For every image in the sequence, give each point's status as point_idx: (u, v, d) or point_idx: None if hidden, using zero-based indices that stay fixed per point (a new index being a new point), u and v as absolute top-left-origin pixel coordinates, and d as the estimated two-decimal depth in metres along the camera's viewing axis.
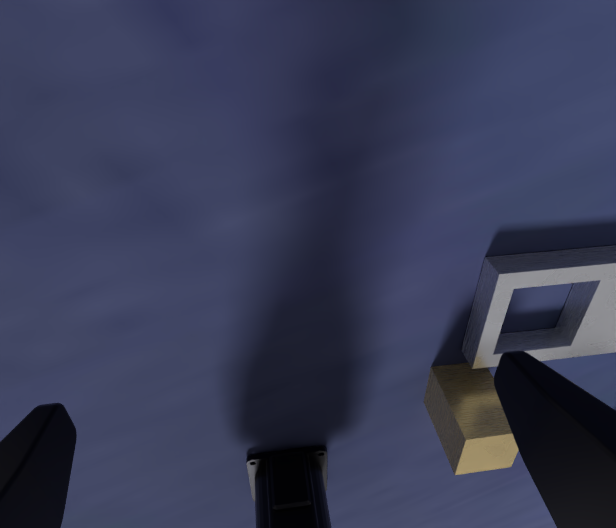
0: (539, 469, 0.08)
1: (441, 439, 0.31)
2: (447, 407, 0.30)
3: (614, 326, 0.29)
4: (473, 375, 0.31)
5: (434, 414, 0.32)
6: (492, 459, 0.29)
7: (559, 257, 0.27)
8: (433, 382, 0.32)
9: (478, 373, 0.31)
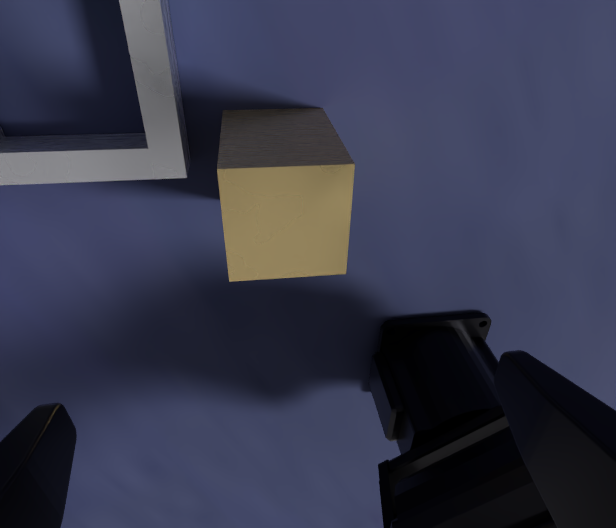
0: (539, 469, 0.08)
1: None
2: None
3: None
4: None
5: None
6: (309, 216, 0.14)
7: None
8: None
9: None
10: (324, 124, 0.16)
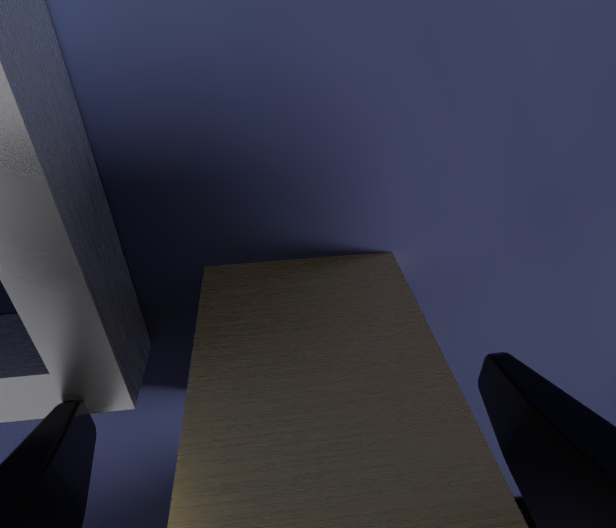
0: (521, 471, 0.08)
1: None
2: None
3: None
4: None
5: None
6: None
7: None
8: None
9: None
10: (409, 318, 0.08)
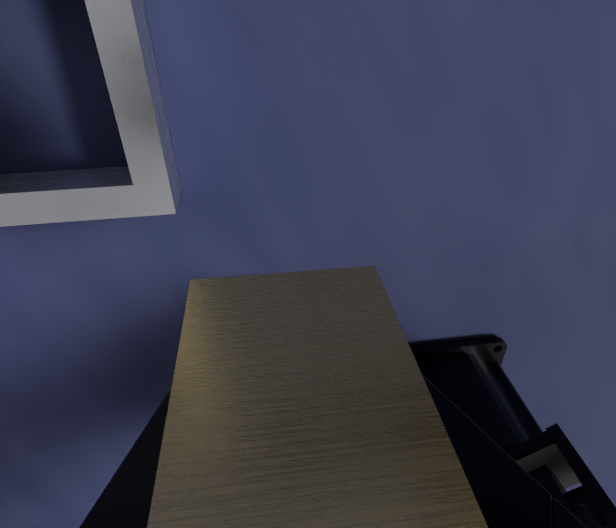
0: None
1: None
2: None
3: None
4: None
5: None
6: None
7: None
8: None
9: None
10: (388, 333, 0.08)
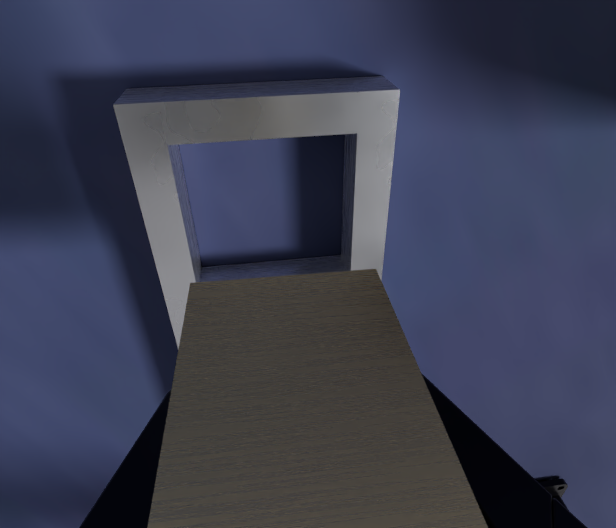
0: None
1: None
2: None
3: None
4: None
5: None
6: None
7: None
8: None
9: None
10: (390, 337, 0.08)
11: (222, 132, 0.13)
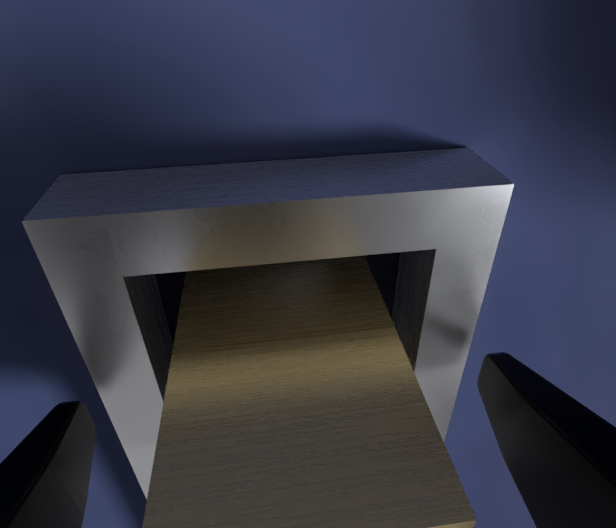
0: (520, 472, 0.08)
1: None
2: None
3: None
4: None
5: None
6: None
7: None
8: None
9: None
10: (373, 311, 0.08)
11: (215, 256, 0.07)
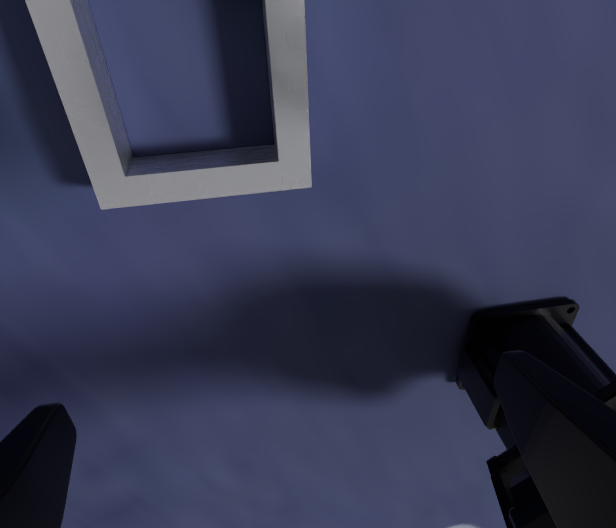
0: (539, 469, 0.08)
1: None
2: None
3: None
4: None
5: None
6: None
7: None
8: None
9: None
10: None
11: None
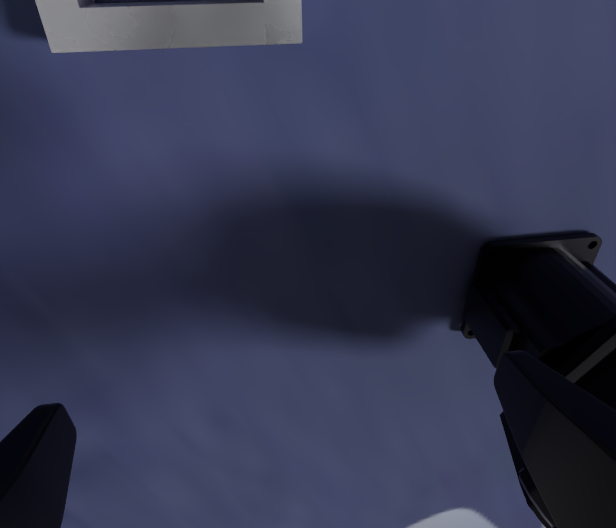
0: (539, 469, 0.08)
1: None
2: None
3: None
4: None
5: None
6: None
7: None
8: None
9: None
10: None
11: None
